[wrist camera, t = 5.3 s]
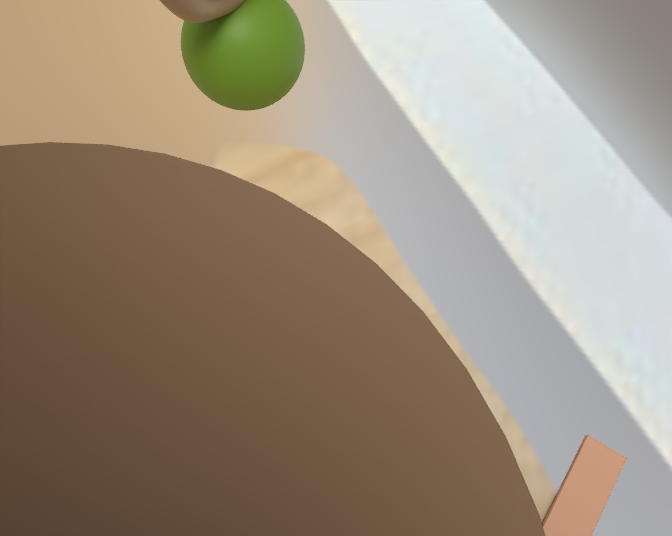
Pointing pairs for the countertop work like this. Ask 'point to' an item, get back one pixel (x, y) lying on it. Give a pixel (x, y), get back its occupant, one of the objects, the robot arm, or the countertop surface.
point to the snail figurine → (240, 49)
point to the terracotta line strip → (584, 490)
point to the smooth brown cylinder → (222, 367)
